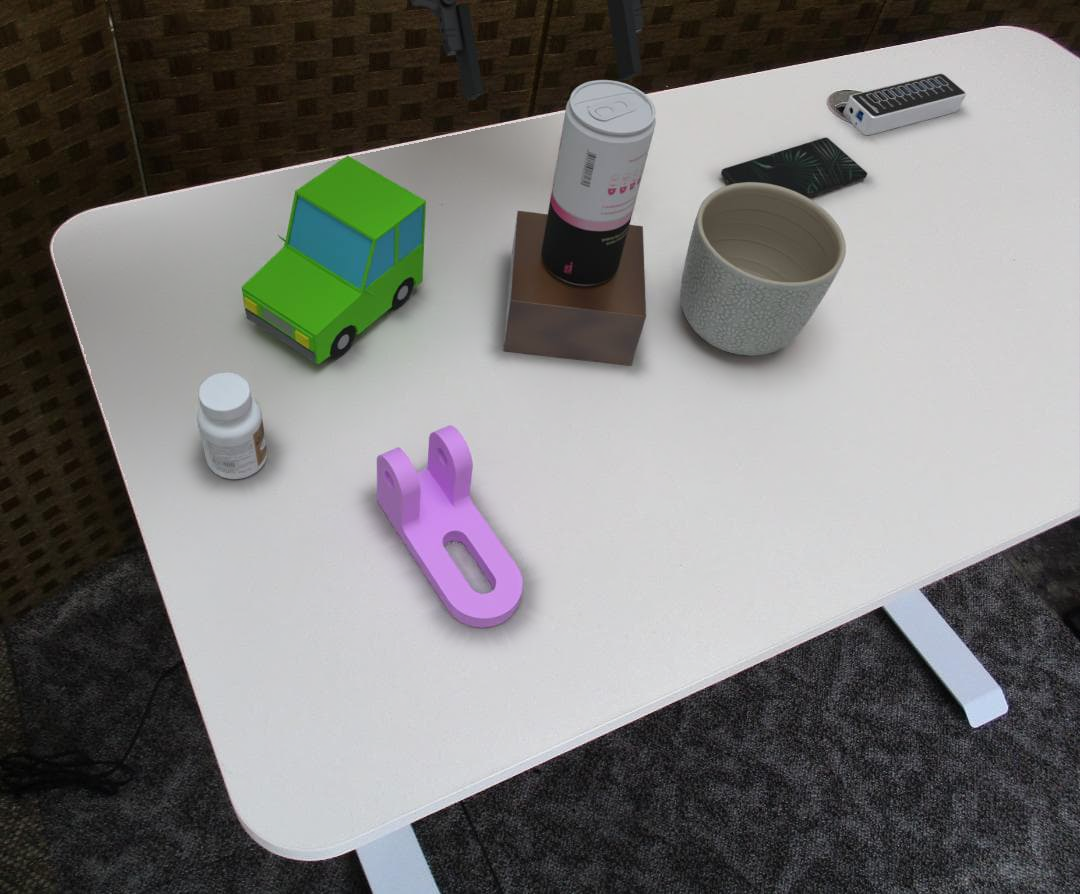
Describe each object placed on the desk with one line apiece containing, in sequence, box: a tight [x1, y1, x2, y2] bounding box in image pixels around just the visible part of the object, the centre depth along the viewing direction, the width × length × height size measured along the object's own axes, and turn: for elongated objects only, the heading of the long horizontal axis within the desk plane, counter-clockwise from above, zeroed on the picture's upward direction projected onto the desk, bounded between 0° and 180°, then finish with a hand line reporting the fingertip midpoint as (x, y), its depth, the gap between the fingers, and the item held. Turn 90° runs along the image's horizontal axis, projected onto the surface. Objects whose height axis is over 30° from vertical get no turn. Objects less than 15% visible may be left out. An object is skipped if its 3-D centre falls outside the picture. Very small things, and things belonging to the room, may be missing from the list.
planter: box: [680, 182, 847, 356], centre depth 85 cm, size 12×12×11 cm
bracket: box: [376, 424, 524, 629], centre depth 69 cm, size 13×6×7 cm, turn 33°
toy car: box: [241, 155, 427, 365], centre depth 80 cm, size 10×13×10 cm
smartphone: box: [720, 137, 868, 199], centre depth 103 cm, size 7×1×15 cm
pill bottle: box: [196, 372, 268, 480], centre depth 71 cm, size 4×4×8 cm
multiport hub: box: [842, 73, 967, 136], centre depth 112 cm, size 4×14×2 cm, turn 118°
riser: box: [502, 210, 647, 366], centre depth 85 cm, size 11×11×6 cm
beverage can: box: [541, 79, 657, 286], centre depth 77 cm, size 7×7×15 cm
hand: (554, 87), depth 79 cm, fingers open, 13 cm apart
